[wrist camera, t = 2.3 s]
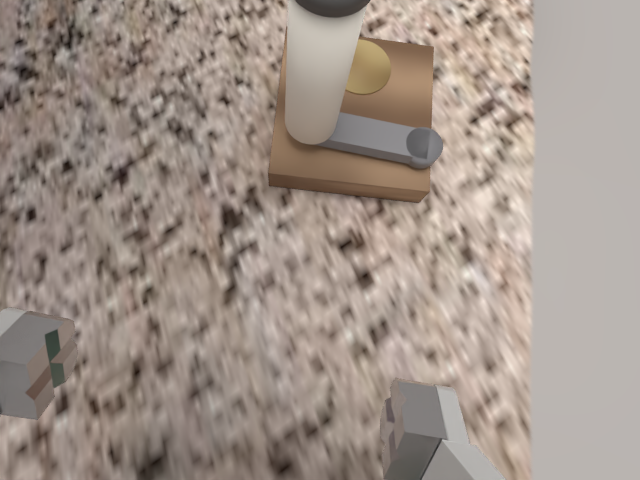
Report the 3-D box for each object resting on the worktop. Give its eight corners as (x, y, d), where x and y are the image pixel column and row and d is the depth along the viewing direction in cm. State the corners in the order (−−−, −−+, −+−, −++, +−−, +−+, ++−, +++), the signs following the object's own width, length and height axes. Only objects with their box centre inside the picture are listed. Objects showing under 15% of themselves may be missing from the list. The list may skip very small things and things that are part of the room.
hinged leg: (439, 131, 32) (560, -30, 18) (433, 179, 31) (556, 48, 17) (288, 100, 32) (295, -90, 18) (277, 148, 31) (276, -14, 17)
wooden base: (285, 47, 36) (286, 24, 33) (423, 66, 37) (434, 45, 34) (269, 185, 33) (268, 172, 30) (418, 202, 34) (430, 190, 31)
